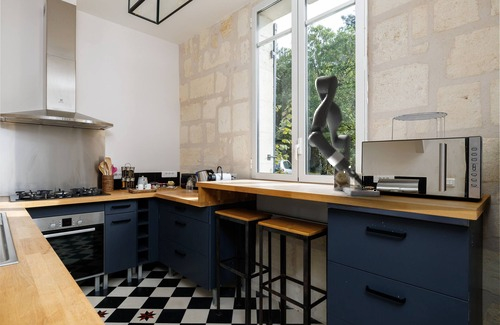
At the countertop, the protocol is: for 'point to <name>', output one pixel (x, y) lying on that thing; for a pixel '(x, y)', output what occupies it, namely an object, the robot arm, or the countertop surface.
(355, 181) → the fader knob
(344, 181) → the coffee box
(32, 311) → the countertop surface
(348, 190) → the fader console
